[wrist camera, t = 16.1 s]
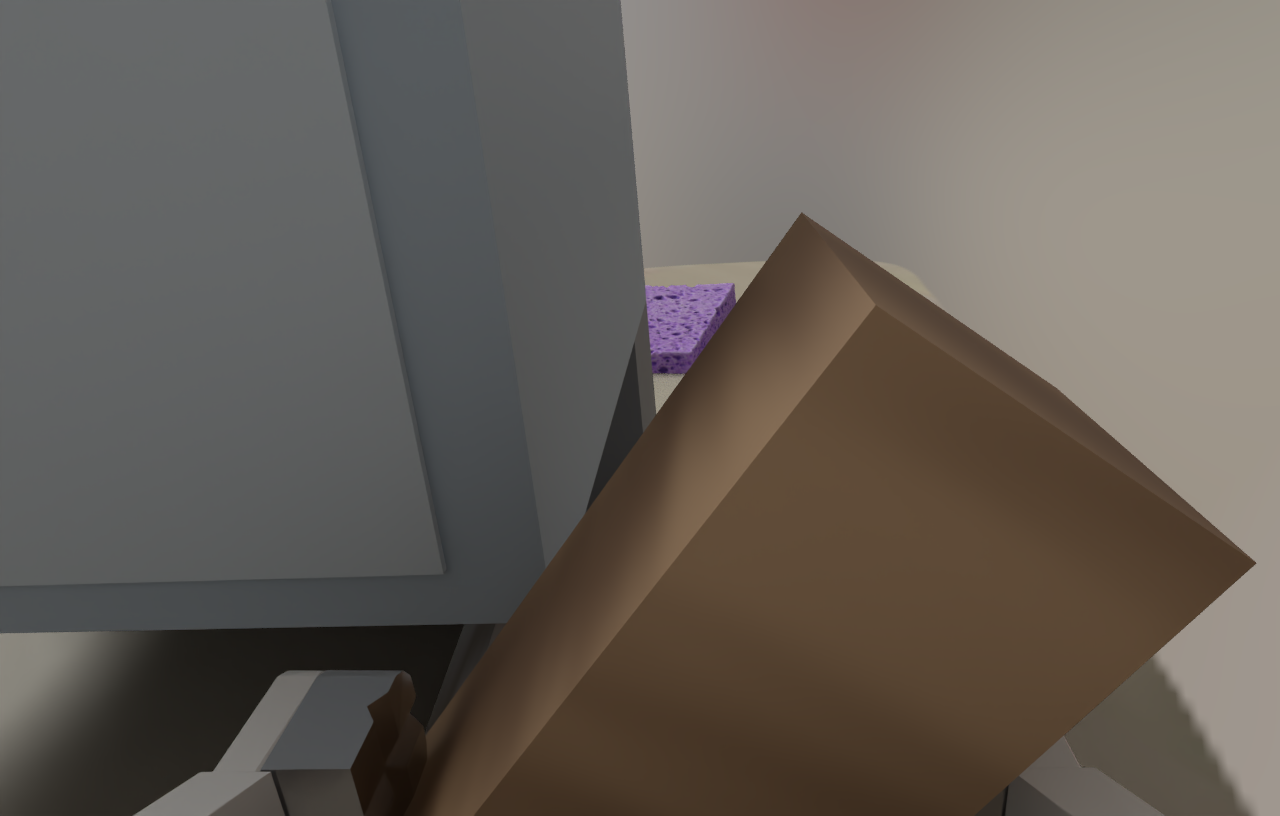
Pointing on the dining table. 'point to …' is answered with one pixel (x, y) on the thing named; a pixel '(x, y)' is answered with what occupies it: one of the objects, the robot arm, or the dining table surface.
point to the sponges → (684, 322)
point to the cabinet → (309, 307)
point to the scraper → (826, 579)
